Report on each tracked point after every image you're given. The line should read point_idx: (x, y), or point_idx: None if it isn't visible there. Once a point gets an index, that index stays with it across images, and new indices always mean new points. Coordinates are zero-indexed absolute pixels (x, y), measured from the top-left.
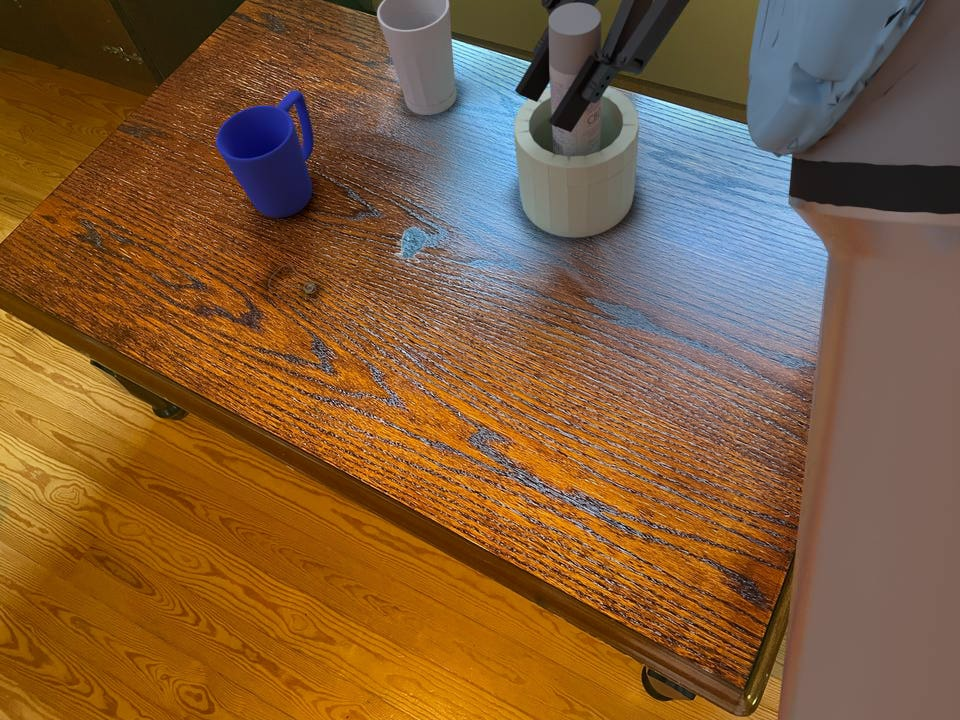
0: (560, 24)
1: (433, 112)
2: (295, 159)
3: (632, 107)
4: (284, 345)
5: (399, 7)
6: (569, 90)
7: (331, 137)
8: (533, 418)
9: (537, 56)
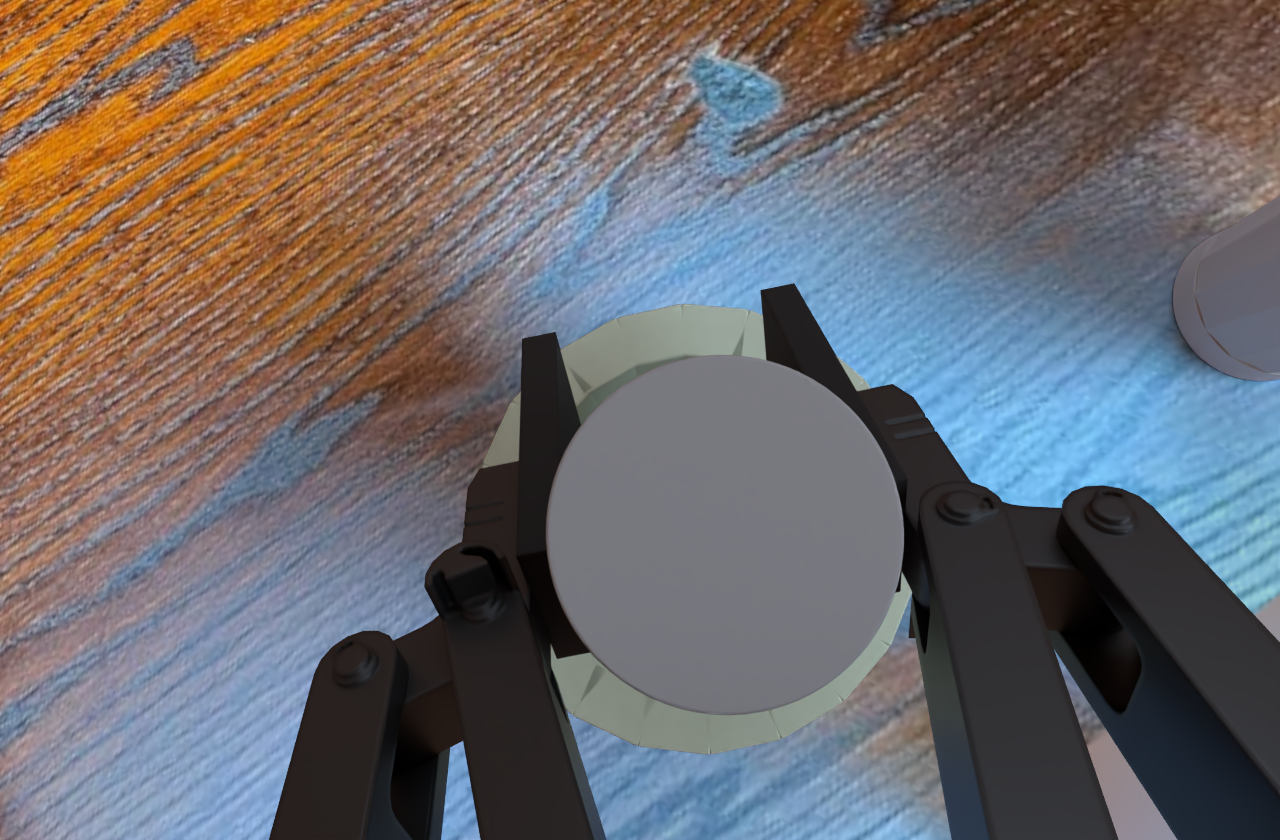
0: (715, 420)
1: (1178, 283)
2: None
3: (666, 740)
4: None
5: None
6: (549, 419)
7: (1206, 3)
8: (166, 168)
9: (832, 377)
